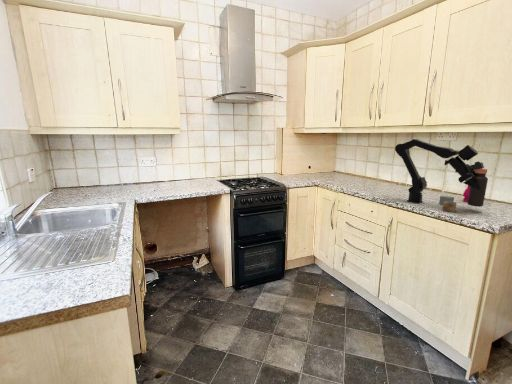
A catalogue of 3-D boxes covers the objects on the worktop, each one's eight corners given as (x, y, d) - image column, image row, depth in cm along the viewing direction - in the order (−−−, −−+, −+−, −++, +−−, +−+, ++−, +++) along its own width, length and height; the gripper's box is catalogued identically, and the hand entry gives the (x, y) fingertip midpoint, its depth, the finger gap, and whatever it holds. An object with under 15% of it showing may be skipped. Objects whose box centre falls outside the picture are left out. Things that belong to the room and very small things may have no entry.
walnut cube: (442, 211, 148) (443, 202, 147) (444, 209, 152) (445, 200, 151) (453, 212, 145) (454, 204, 144) (455, 211, 148) (456, 202, 147)
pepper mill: (463, 199, 173) (468, 169, 169) (477, 201, 168) (483, 170, 164) (460, 201, 168) (465, 170, 164) (475, 203, 163) (480, 171, 159)
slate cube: (439, 204, 163) (440, 196, 162) (444, 203, 165) (445, 195, 164) (447, 206, 159) (448, 197, 158) (453, 205, 160) (454, 197, 159)
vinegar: (476, 203, 149) (482, 168, 145) (486, 206, 142) (493, 169, 138) (464, 203, 149) (470, 168, 145) (473, 206, 142) (479, 169, 138)
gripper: (469, 157, 137) (493, 181, 131) (478, 155, 149) (500, 177, 143) (449, 171, 145) (470, 194, 139) (459, 168, 156) (479, 189, 150)
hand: (481, 188), depth 143 cm, fingers closed on vinegar, 6 cm apart
